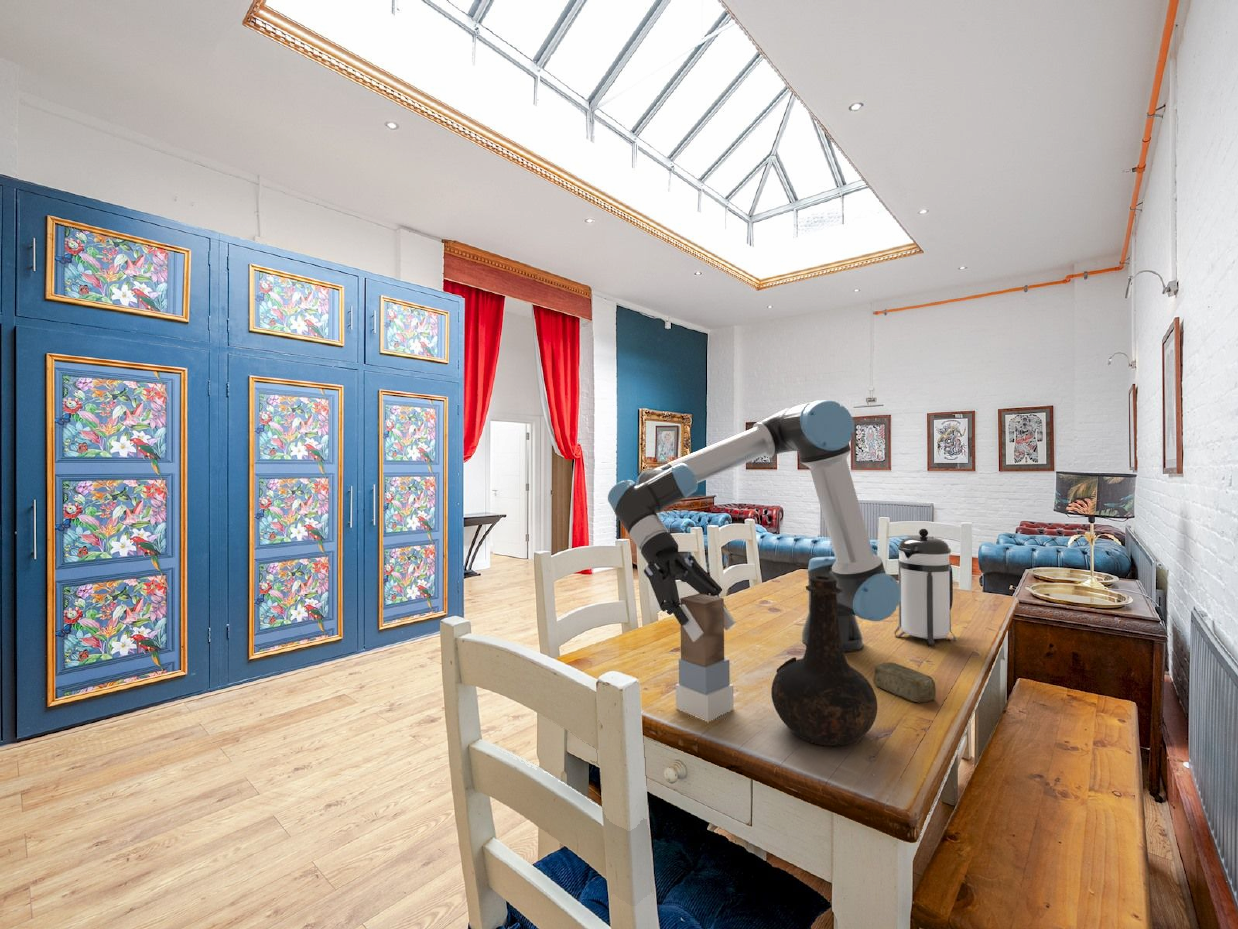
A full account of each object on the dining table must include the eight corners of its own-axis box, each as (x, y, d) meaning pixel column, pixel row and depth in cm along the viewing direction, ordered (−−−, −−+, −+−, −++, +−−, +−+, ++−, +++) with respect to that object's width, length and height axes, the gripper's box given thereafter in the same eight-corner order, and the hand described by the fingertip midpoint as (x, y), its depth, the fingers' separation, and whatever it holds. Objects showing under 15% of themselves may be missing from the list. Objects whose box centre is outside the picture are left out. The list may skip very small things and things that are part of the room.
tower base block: (701, 698, 116) (701, 674, 116) (733, 710, 111) (733, 685, 111) (675, 710, 111) (675, 684, 111) (708, 723, 105) (707, 696, 105)
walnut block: (700, 652, 115) (699, 593, 115) (724, 659, 111) (723, 598, 111) (680, 659, 111) (680, 598, 111) (705, 667, 106) (704, 603, 106)
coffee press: (966, 650, 144) (965, 533, 144) (897, 644, 149) (896, 530, 149) (952, 631, 160) (951, 525, 160) (890, 626, 166) (889, 524, 166)
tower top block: (702, 675, 116) (702, 650, 116) (729, 685, 110) (729, 659, 110) (678, 684, 111) (678, 658, 111) (706, 695, 106) (705, 668, 106)
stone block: (918, 706, 112) (918, 681, 112) (870, 686, 122) (870, 663, 122) (938, 701, 114) (937, 676, 114) (889, 682, 124) (889, 659, 124)
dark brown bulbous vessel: (802, 703, 113) (801, 564, 113) (894, 734, 100) (893, 576, 100) (751, 733, 101) (750, 577, 101) (849, 772, 88) (848, 593, 88)
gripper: (679, 547, 129) (737, 630, 118) (607, 559, 114) (666, 656, 103) (697, 526, 126) (759, 610, 114) (625, 535, 110) (688, 633, 99)
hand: (715, 631), depth 108 cm, fingers open, 9 cm apart
